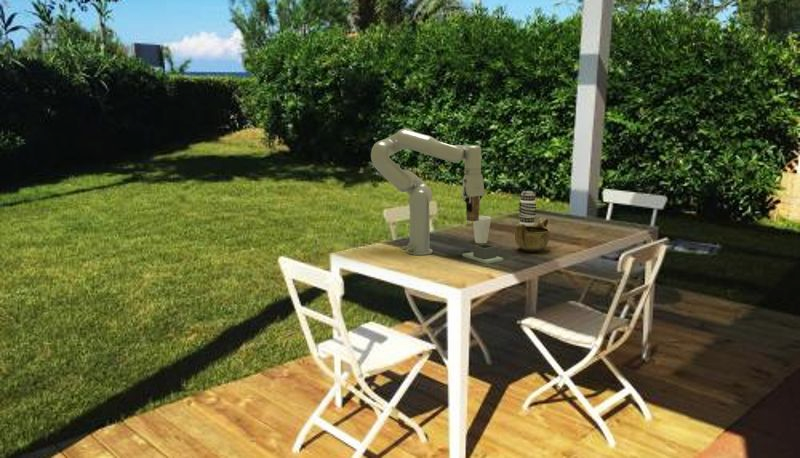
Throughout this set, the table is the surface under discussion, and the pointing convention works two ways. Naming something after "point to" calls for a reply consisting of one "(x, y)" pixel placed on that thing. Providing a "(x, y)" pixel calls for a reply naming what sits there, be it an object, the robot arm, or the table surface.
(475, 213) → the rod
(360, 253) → the table surface
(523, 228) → the brown round bowl
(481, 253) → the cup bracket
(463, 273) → the table surface
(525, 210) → the decorative candle
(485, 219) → the foam cup
